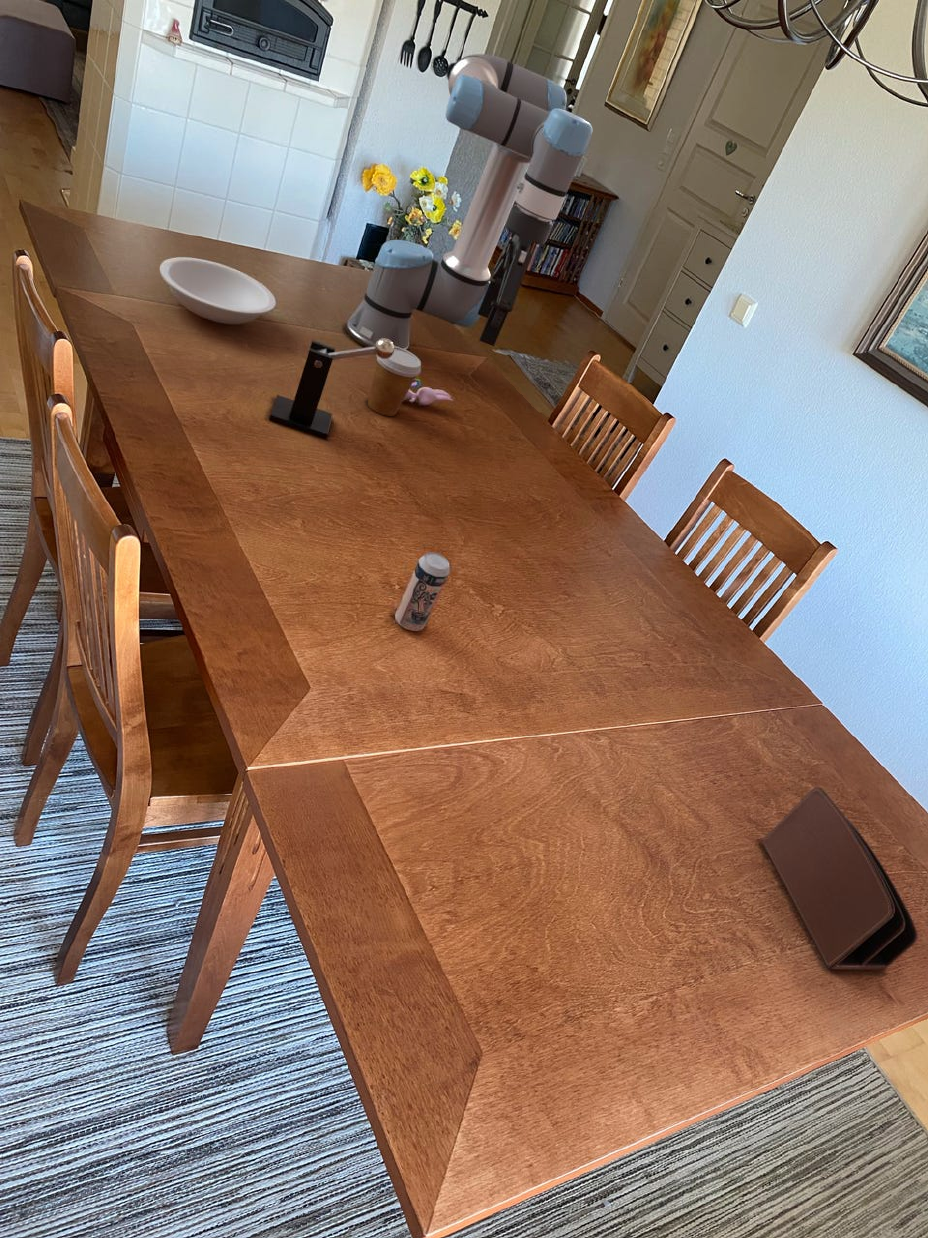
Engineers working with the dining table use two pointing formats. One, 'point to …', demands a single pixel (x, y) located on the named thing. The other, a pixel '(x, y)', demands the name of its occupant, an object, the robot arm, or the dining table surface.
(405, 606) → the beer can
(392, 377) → the disposable coffee cup
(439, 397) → the rabbit figure
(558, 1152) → the dining table surface
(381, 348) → the ball-tipped metal rod
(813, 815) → the letter holder
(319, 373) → the bracket
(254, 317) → the soup bowl
